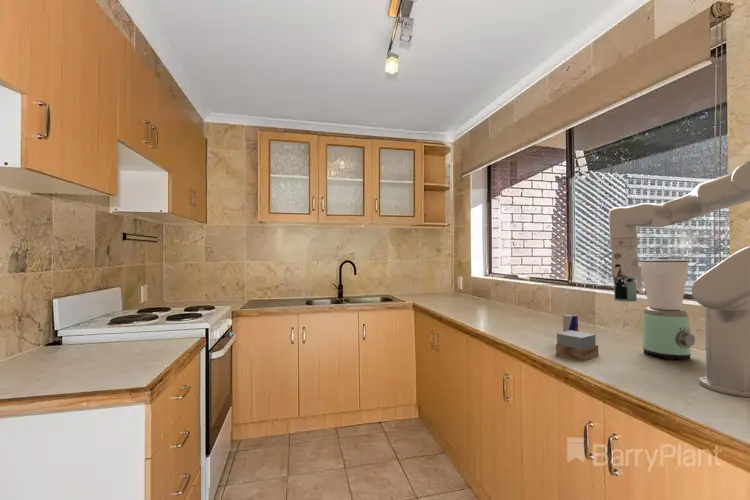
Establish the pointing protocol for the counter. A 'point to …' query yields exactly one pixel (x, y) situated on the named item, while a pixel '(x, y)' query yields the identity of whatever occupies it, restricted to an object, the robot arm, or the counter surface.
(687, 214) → the robot arm
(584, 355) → the tower base block
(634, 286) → the teal cylinder
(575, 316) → the energy drink
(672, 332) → the mint green blender
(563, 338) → the tower top block
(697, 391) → the counter surface
